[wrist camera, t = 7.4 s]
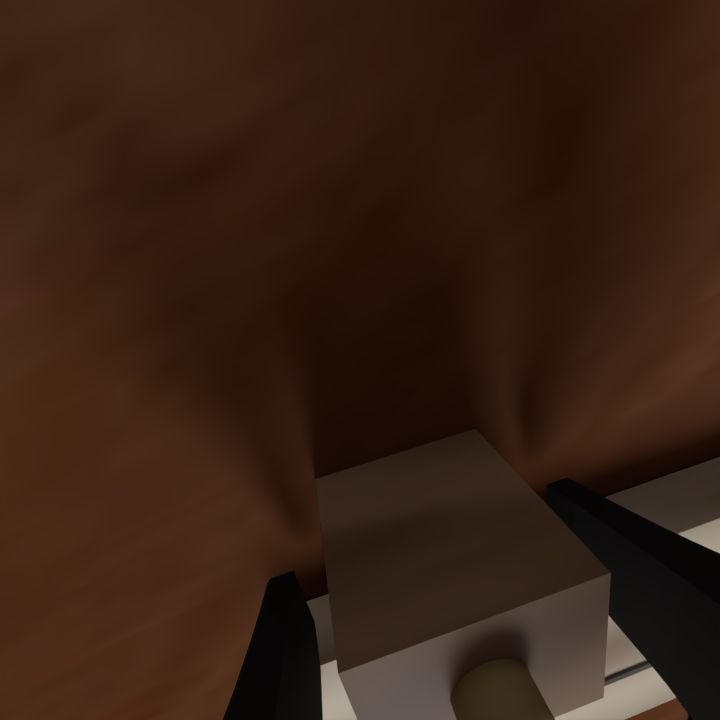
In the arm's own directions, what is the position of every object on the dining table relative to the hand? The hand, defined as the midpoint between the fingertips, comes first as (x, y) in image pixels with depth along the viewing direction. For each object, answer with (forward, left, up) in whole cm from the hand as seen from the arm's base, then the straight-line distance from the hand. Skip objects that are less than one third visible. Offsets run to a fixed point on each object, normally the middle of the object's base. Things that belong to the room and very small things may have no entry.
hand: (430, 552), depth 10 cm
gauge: (-4, 0, -2) cm, 4 cm away
